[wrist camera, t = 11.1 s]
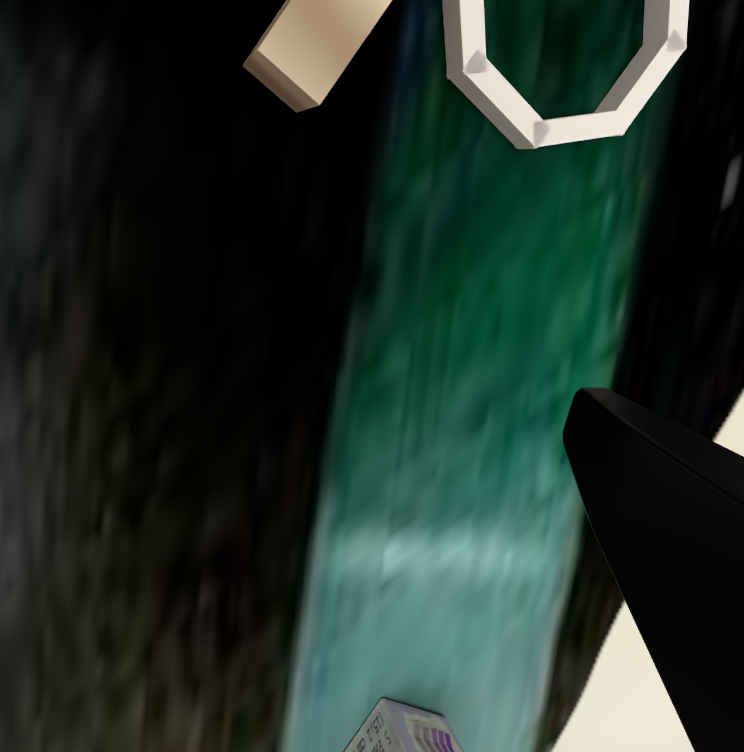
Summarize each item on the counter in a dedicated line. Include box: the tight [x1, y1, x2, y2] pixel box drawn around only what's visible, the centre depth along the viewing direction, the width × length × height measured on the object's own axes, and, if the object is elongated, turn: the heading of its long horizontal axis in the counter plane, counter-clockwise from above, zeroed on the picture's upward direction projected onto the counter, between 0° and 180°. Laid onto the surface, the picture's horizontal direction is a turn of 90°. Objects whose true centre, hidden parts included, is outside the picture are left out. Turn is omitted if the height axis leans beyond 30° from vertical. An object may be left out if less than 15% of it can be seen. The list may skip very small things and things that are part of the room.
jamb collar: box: [442, 0, 689, 149], centre depth 20 cm, size 9×9×1 cm
